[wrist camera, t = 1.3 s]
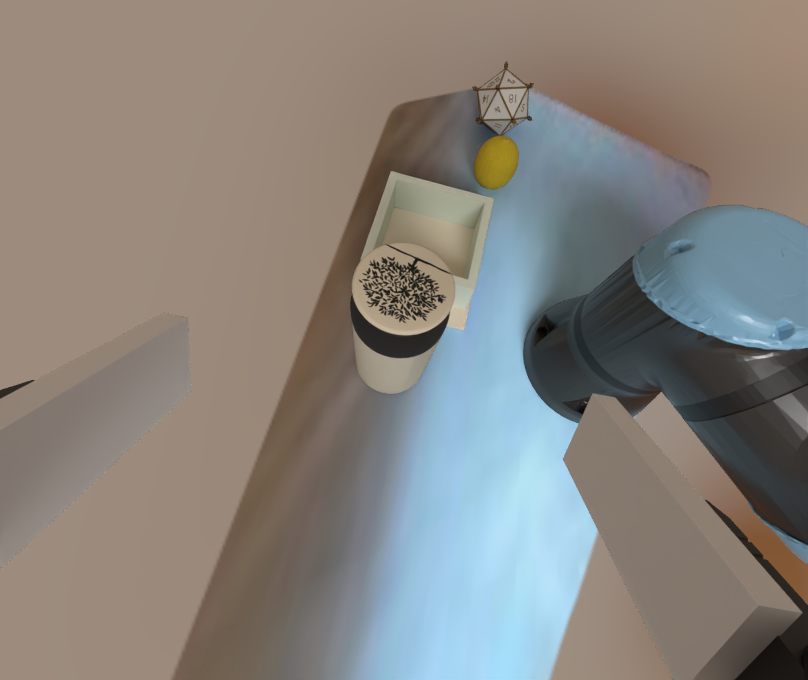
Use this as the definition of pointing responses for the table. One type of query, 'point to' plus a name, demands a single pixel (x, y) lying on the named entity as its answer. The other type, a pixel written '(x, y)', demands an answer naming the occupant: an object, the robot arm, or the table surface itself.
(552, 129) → the table surface
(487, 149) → the lemon
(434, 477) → the table surface
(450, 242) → the holder
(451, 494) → the table surface
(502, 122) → the game die
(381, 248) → the travel mug
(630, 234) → the table surface
